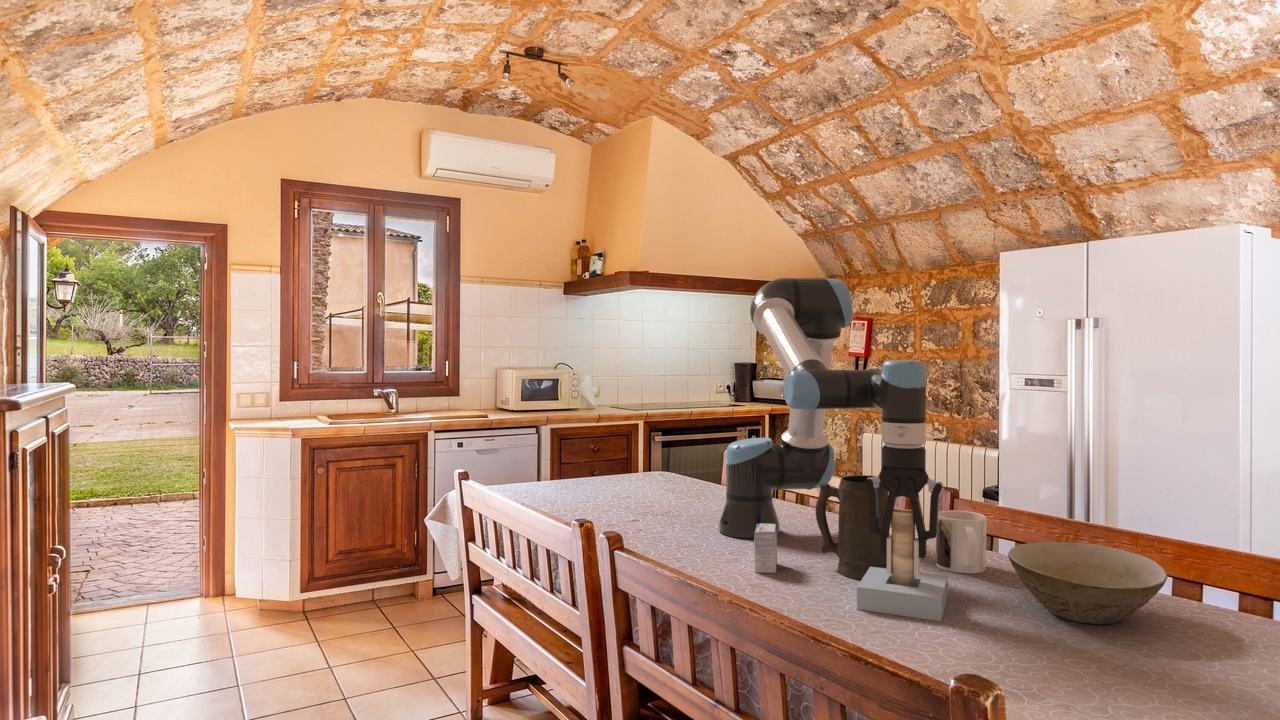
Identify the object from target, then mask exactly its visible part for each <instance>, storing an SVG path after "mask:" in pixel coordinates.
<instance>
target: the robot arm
mask: <svg viewBox="0 0 1280 720" xmlns="http://www.w3.org/2000/svg"><path fill="white" fill-rule="evenodd" d="M749 314H750V319H751V322H752V324H753V326H754V328H755V329H756V330H757V331H758V332H759V333H760V334H761V335H764V336H765V337H764V338H766V340H767V342H768V344H769V346H770V347H771V349H772V351H773V353H774V355H775V356H776V359H777V360H778V362H779V363H780V366H781V367H782V369H783V371H784V373H785V378H784V380H783V395H784V401H785V402H786V405H787V406H788V407H789V418H788V419H789V421H788V428H787V430H785V431H784V432H783V433H782V434H781V439H780V443H774V441H773V440H772V438H770V437H753V438H752V437H750V438H744V439H740V440H735V441H733V442H731V443H729V445H728V446H727V447H726V451H725V452H726V453H725V456H726V457H725V462H724V463H725V486H726V487H725V492H726V494H725V496H726V497H725V498H726V499H725V504H724V507H723V509H722V513H721V517H720V519H719V523H718V525H719V526H718V529H719V530H718V531H719V533H720V534H723V535H724V536H729V537H732V538H738V539H753V540H754V535H755V530H756V526H757V524H764V523H765V524H776V525H777V536H779V534H780V532H781V531H780V530H781V528H780V527H781V526H780V525H781V524H780V522H779V521H780V520H779V517H778V515H777V512H776V509H775V505H774V503H773V501H774V499H773V491H779V490H784V491H785V490H807V491H808V490H813V489H820V484H825V483H827V484H829V483H830V482H831V480H832V478H833V476H834V472H835V468H836V467H835V466H836V459H835V456H836V455H835V450H834V448H833V446H832V445H831V444H830V442H829V439H828V437H827V436H826V435H825V433H824V428H825V427H824V425H825V418H826V411H827V410H838V409H839V410H842V409H843V410H848V409H849V410H851V409H853V410H855V409H859V410H860V409H862V410H865V409H876V410H877V409H879V410H881V442H882V443H883V444H884V445H883V446H882V447H881V468H880V469H881V470H880V471H879V474H878V475H874V476H875V477H869V478H867V479H866V480H865V484H866V486H867V489H868V491H869V511H870V531H871V532H873V533H877V534H879V535H880V537H881V553H882V554H887V574H891V573H892V534H890V529H891V526H892V511H893V510H894V509H895V507H896V502H897V499H898V498H899V497H905V498H908V499H909V502H910V505H911V510H912V511H913V515H914V520H915V531H916V534H917V537H915V540H914V577H917V578H918V577H919V575H920V573H921V559H926V556H927V541H928V540H930V539H936V535H937V528H938V512H939V505H940V503H939V501H940V500H939V499H940V494H941V491H942V490H943V487H944V484H943V482H941V481H936V480H934V479H931V478H930V477H929V475H928V473H927V470H926V469H927V468H926V465H927V464H926V463H927V462H926V461H927V460H926V458H927V457H926V456H927V455H926V453H927V451H926V450H927V449H926V448H925V446H923V445H925V444H926V441H927V440H926V435H927V432H926V431H927V429H926V428H927V427H926V426H927V424H926V423H927V422H926V418H927V416H926V412H927V411H926V410H927V409H926V408H927V382H928V381H927V377H926V365H925V363H924V362H923V361H921V360H911V359H910V360H909V359H908V360H904V359H900V360H898V359H897V360H896V359H895V360H886V361H884V362H883V363H882V367H881V369H880V368H867V369H831V364H832V363H831V362H832V353H833V346H834V342H836V341H837V340H839V339H840V338H841V334H842V333H841V332H842V329H845V328H848V327H849V326H850V324H851V322H852V319H853V301H852V296H851V293H850V290H849V287H848V286H847V285H846V283H845V282H844V281H842V280H841V279H837V278H828V277H806V278H805V277H804V278H803V277H794V278H793V277H792V278H791V277H790V278H789V277H781V278H776V279H773V280H771V281H769V282H767V283H765V284H764V285H762V286H761V287H760V288H759V290H757V292H755V295H754V297H753V298H752V301H751V303H750V308H749ZM880 481H881V482H882V483H883V485H884V486H885V487H886V489H887V490H888V499H887V505H886V510H885V514H884V519H883V523H882V527H881V526H879V514H878V491H877V488H878V487H879V482H880ZM926 485H927V486H928V492H929V493H931V495H930V498H929V499H930V501H929V502H930V503H929V506H930V507H929V522H928V524H929V525H928V530H926V525H925V521H924V515H923V512H922V505H921V502H920V494H919V493H920V492H921V491H922V490H923V489H924V487H925V486H926Z"/></svg>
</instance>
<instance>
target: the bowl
mask: <svg viewBox="0 0 1280 720" xmlns="http://www.w3.org/2000/svg"><path fill="white" fill-rule="evenodd" d="M1007 556H1008V557H1007V558H1008V559H1009V561H1010V564H1011V566H1012V567H1013V569H1014V571H1015V572H1016V574H1017V575H1018V577H1019V578H1020V580H1021V582H1022V583H1023V584H1024V586H1026V588H1027V590H1028V591H1029V592H1030V593H1031V594H1032V595H1033V596H1034V598H1035V599H1036V600H1037V601H1038V602H1039V603H1040V604H1041V605H1042V606H1043V607H1044V608H1045V609H1046V610H1047V611H1049V613H1051V614H1053V615H1054V616H1057V617H1060V618H1062V619H1066V620H1069V621H1074V622H1078V623H1084V624H1085V623H1086V624H1092V625H1110V624H1116V623H1119V622H1121V621H1122V620H1124V619H1125V618H1127V617H1129V616H1131V615H1132V614H1133V613H1135V612H1136V611H1138V610H1139V609H1141V608H1142V607H1143V606H1145V605H1146V604H1147V603H1149V601H1150V600H1151V599H1152V598H1154V597H1155V595H1157V594H1158V593H1159V591H1161V589H1162V588H1163V587H1164V585H1165V584H1166V581H1167V580H1168V575H1167V572H1166V570H1165V569H1164V567H1162V566H1161V565H1160V564H1159V563H1157V562H1156V561H1154V560H1153V559H1151V558H1149V557H1146V556H1145V555H1141V554H1137V553H1135V552H1131V551H1127V550H1123V549H1119V548H1115V547H1110V546H1106V545H1105V546H1104V545H1100V544H1094V543H1093V544H1092V543H1084V542H1070V541H1069V542H1068V541H1059V542H1058V541H1048V542H1047V541H1043V542H1039V541H1038V542H1031V543H1030V542H1028V543H1022V544H1019V545H1015V546H1013V547H1012V548H1010V549H1009V551H1008V552H1007Z"/></svg>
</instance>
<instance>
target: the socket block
mask: <svg viewBox="0 0 1280 720" xmlns="http://www.w3.org/2000/svg"><path fill="white" fill-rule="evenodd" d="M948 578H949V577H948V575H943V574H935V573H928V572H927V573H926V572H920V575H919V577H918V578H917V577H915V587H910V586H902V585H894V584H892V573H891V574H887V569H886V568H878V567H870V568H869V569H868V571H867V572H866V574H865V575H864V577H863V578H862V580H860V582H859V583H858V585H857V586H856V610H858V611H865V612H866V611H867V612H872V613H881V614H886V615H887V614H888V615H895V616H902V617H908V618H916V619H922V620H930V621H935V622H936V621H937V622H942V620H943V618H944V617H943V616H944V612H945V610H946V609H945V608H946V605H947V601H948V598H949V597H948V596H949V594H948V590H949V589H948V588H949V586H948V585H949V584H948V583H949V582H948V580H949V579H948Z"/></svg>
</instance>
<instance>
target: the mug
mask: <svg viewBox="0 0 1280 720" xmlns="http://www.w3.org/2000/svg"><path fill="white" fill-rule="evenodd" d="M935 565H936V567H938V568H939V569H941V570H944V571H947V572H952V573H955V574H969V575H970V574H982V573H985V571H986V569H987V517H986V515H984V514H981V513H978V512H973V511H967V510H950V509H949V510H940V511H938V528H937V535H936V537H935Z"/></svg>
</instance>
